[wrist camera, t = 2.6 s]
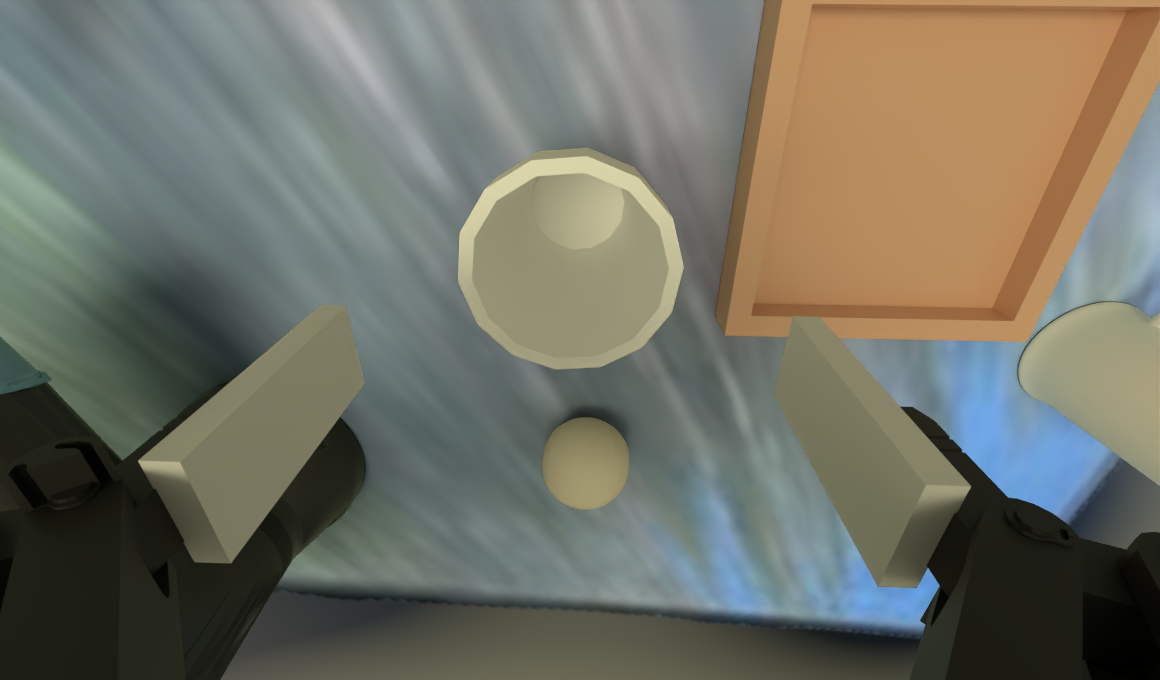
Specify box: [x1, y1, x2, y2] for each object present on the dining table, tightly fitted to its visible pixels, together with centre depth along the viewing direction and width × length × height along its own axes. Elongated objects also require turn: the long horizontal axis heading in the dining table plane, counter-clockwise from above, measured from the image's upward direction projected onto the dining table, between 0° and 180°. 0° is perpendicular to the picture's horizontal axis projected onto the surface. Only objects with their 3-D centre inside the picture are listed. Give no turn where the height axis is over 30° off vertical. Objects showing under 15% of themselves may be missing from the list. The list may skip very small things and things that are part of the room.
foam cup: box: [458, 148, 684, 370], centre depth 26 cm, size 10×9×13 cm
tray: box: [715, 0, 1160, 342], centre depth 29 cm, size 20×20×3 cm
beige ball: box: [542, 417, 630, 510], centre depth 38 cm, size 7×7×7 cm
